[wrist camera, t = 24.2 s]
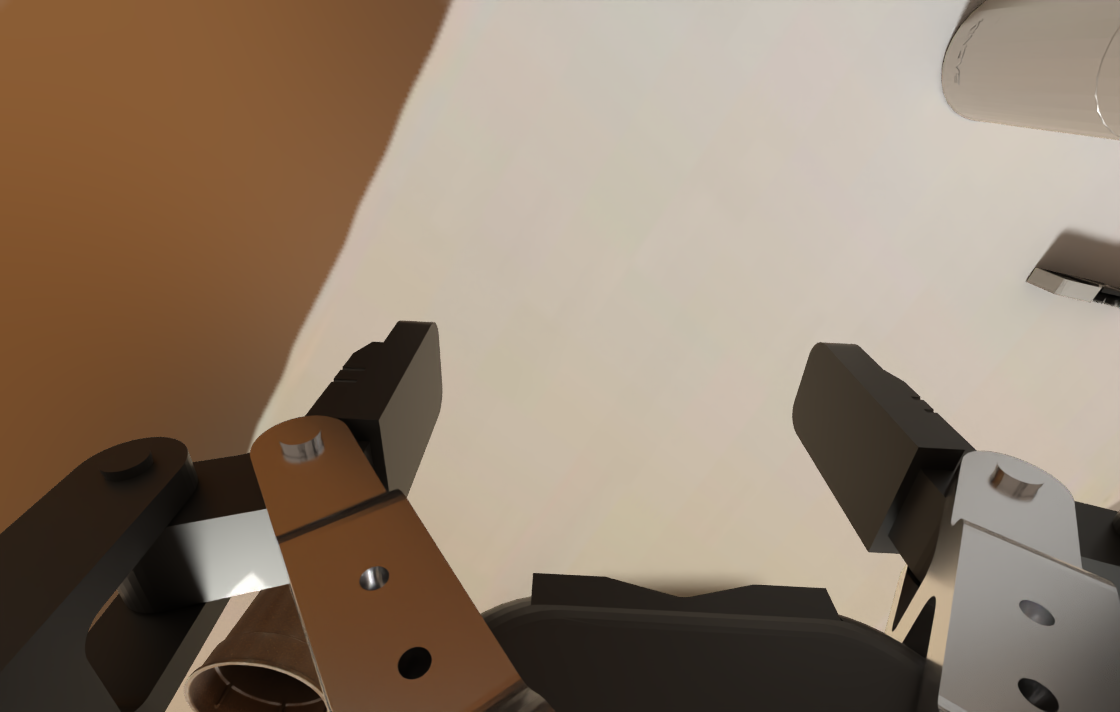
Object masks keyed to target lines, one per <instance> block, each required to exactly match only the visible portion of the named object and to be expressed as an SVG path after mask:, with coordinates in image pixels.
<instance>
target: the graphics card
mask: <svg viewBox="0 0 1120 712" xmlns="http://www.w3.org/2000/svg"><path fill="white" fill-rule="evenodd" d="M1027 282H1028V283H1030V284H1033V285H1035V286H1037V287H1040V288H1042V289H1044V290H1047V291H1049V292H1051V293H1053V294H1056V295H1059V296H1064V297H1068V298H1072V299H1077V300H1081V301H1085V302H1089V303H1091V301H1092V300H1093V301H1094V302H1095V301H1096V302H1097V303H1098V302H1100V303H1101V304H1102V303H1104V304H1107V305H1111V306H1114V307H1117V308H1120V288H1116V287H1112V286H1109V285H1108V284H1106V285H1105V284H1104V283H1100V282H1096V281H1092V280H1087V279H1083V278H1079V277H1075V276H1070V275H1066V274H1062V273H1057V272H1053V271H1049V270H1044V269H1040V268H1035V269H1034V271H1033V273H1032V274H1031V276H1030V277H1029V279H1028V280H1027Z"/></svg>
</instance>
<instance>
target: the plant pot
mask: <svg viewBox="0 0 1120 712" xmlns="http://www.w3.org/2000/svg"><path fill="white" fill-rule="evenodd" d="M184 696H185V700H186V702H187V704H188V705H189V707H190V708H191V710H192V711H193V712H329V711H328V708H327V705H326V702H325V698H324V695H323V692H322V689H321V685H320V682H319V679H318V676H317V673H316V669H315V666H314V663H313V660H312V657H311V654H310V650H309V647H308V644H307V641H306V638H305V635H304V631H303V628H302V625H301V622H300V619H299V616H298V612H297V609H296V606H295V603H294V600H293V597H292V593H291V590H290V587H289V584H285V585H281V586H276V587H272V588H267V589H263V590H261V591H260V592H259V594H258V595H257V596H256V598H255V599H254V600H253V602H252V603H251V605H250V606H249V607H248V609H247V610H246V611H245V613H244V614H243V616H242V617H241V618H240V620H239V621H238V622H237V624H236V625H235V626H234V628H233V629H232V630H231V632H230V633H229V634H228V636H227V637H226V639H225V640H224V641H222V642H221V643H219V644H218V645H217V647H216V648H215V649H214V650H213V652H212V653H211V654H210V656H209V657H208V659H207V660H206V661H205V662H204V664H203V665H202V666H201V667H199V668H198V669H196V670H195V671H194V672H193V673H192V674H191V675H190V677H189V678H188V679H187V681H186V683H185V685H184Z"/></svg>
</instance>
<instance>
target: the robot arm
mask: <svg viewBox="0 0 1120 712" xmlns="http://www.w3.org/2000/svg"><path fill="white" fill-rule="evenodd" d="M941 81H942V88H943V93H944V96H945V98H946V100H947V103H948V104H949V105H950V107H951V108H952V109H953V110H954V111H955V112H956V113H958V114H959V115H961V116H962V117H964V118H967V119H971V120H974V121H981V122H989V123H996V124H1003V125H1009V126H1017V127H1024V128H1032V129H1039V130H1046V131H1054V132H1061V133H1069V134H1076V135H1084V136H1091V137H1099V138H1106V139H1114V140H1120V0H986V1H985V2H984V3H983V4H981V5H980V6H979V7H978V8H977V9H976V10H974V11H973V12H972V13H971V14H970V16H969V17H968V18H967V19H966V20H965V21H964V22H963V24H962V25H961V26H960V28H959V29H958V31H957V32H956V34H955V36H954V37H953V39H952V41H951V43H950V45H949V48H948V50H947V52H946V55H945V59H944V63H943V67H942V80H941ZM441 402H442V376H441V362H440V347H439V334H438V328H437V325H436V323H435V322H417V321H398V322H397V324H396V325H395V327H394V328H393V330H392V331H391V332H390V334H389V335H388V337H387V338H386V340H385V341H384V342H371V343H370V344H368V345H366V346H365V347H363V348H361V349H360V350H358V351H356V352H355V353H353V354H352V356H351V357H350V358H349V360H348V361H347V362H346V363H345V365H344V366H343V370H340V371H339V373H338V374H337V375H336V376H335V378H334V382H331V383H330V384H329V386H328V387H327V388H326V389H325V391H324V392H323V393H322V395H321V396H320V397H319V399H318V400H317V401H316V402H315V404H314V405H313V406H312V408H311V409H310V410H309V412H308V413H307V414H306V415H305V416H304V417H298V418H294V419H290V420H287V421H284V422H282V423H279V424H277V425H275V426H273V427H271V428H270V429H268V430H267V431H265V432H264V433H262V434H261V435H260V436H259V437H258V438H257V439H256V440H255V442H254V443H253V445H252V447H251V450H250V453H247V454H243V455H238V456H231V457H225V458H218V459H211V460H205V461H199V462H192V460H191V457H190V455H189V453H188V449H187V447H186V446H185V444H183V443H182V442H180V441H178V440H176V439H172V438H166V437H151V438H143V439H137V440H132V441H129V442H126V443H122V444H119V445H116V446H113V447H111V448H108V449H106V450H104V451H102V452H100V453H98V454H96V455H94V456H92V457H91V458H89V459H87V460H86V461H84V462H83V463H82V464H80V465H79V466H78V467H77V468H75V469H74V470H73V471H72V472H71V473H70V474H69V475H67V476H66V477H65V478H64V479H63V480H62V481H61V482H59V483H58V484H57V485H56V486H55V487H54V488H52V489H51V490H50V491H49V492H48V493H47V494H46V495H45V496H43V497H42V498H41V499H40V500H39V501H38V502H36V503H35V504H34V505H33V506H32V507H31V508H30V509H28V510H27V511H26V512H25V513H24V514H23V515H22V516H21V517H19V518H18V519H17V520H16V521H15V522H14V523H12V524H11V525H10V526H9V527H8V528H7V529H6V530H5V531H3V532H2V533H1V534H0V712H165V711H166V709H167V707H168V705H169V704H170V702H171V700H172V698H173V697H174V695H175V693H176V692H177V690H178V688H179V686H180V685H181V683H182V681H183V679H184V678H185V676H186V674H187V672H188V671H189V669H190V667H191V665H192V664H193V662H194V660H195V659H196V657H197V655H198V653H199V652H200V650H201V648H202V646H203V645H204V643H205V641H206V639H207V638H208V636H209V634H210V632H211V631H212V629H213V627H214V625H215V624H216V622H217V620H218V619H219V617H220V615H221V613H222V612H223V610H224V608H225V606H226V605H227V603H228V601H229V599H230V598H231V596H236V595H240V594H245V593H249V592H254V591H258V590H263V589H267V588H272V587H276V586H281V585H285V584H289V587H290V590H291V593H292V597H293V600H294V603H295V606H296V609H297V612H298V616H299V619H300V622H301V625H302V628H303V631H304V635H305V638H306V641H307V644H308V647H309V650H310V654H311V657H312V660H313V663H314V666H315V669H316V673H317V676H318V679H319V682H320V685H321V689H322V692H323V695H324V698H325V702H326V705H327V708H328V711H329V712H1120V510H1119V512H1117V511H1113V510H1109V509H1105V508H1101V507H1097V506H1093V505H1089V504H1084V503H1080V502H1076V501H1074V499H1073V496H1072V494H1071V493H1070V491H1069V490H1068V489H1067V488H1066V487H1065V486H1064V485H1063V484H1062V483H1061V482H1060V481H1059V480H1057V479H1056V478H1055V477H1053V476H1052V475H1050V474H1049V473H1047V472H1045V471H1044V470H1042V469H1040V468H1038V467H1036V466H1035V465H1032V464H1030V463H1028V462H1026V461H1023V460H1021V459H1018V458H1015V457H1012V456H1009V455H1006V454H1002V453H997V452H991V451H977V450H975V449H974V448H973V447H972V446H971V445H970V444H969V443H968V442H967V441H966V440H965V439H964V438H963V437H962V436H961V435H960V434H959V433H958V432H957V431H956V430H954V429H953V428H952V427H951V426H950V425H949V424H948V423H947V422H946V421H945V420H944V419H943V418H942V417H941V416H940V415H939V414H938V413H934V412H933V409H932V408H931V407H930V406H929V405H928V404H927V403H926V402H925V401H924V400H920V396H919V395H918V394H917V393H916V392H915V391H914V390H913V389H911V388H910V387H909V386H908V385H907V384H906V383H905V382H904V381H902V380H900V379H899V378H897V377H895V376H893V375H892V374H890V373H888V372H886V371H885V370H883V369H882V368H881V367H880V366H879V365H878V364H877V363H876V362H875V361H874V360H873V359H872V358H871V357H870V356H869V355H868V354H867V353H866V352H865V351H864V350H863V349H862V348H861V347H859V346H858V345H856V344H840V343H821V342H820V343H817V344H816V345H815V346H814V347H813V348H812V350H811V352H810V354H809V357H808V361H807V364H806V367H805V370H804V373H803V376H802V380H801V383H800V386H799V389H798V392H797V395H796V398H795V402H794V405H793V413H792V418H793V426H794V429H795V432H796V434H797V435H798V437H799V439H800V440H801V442H802V444H803V445H804V447H805V449H806V450H807V452H808V453H809V455H810V457H811V458H812V460H813V462H814V463H815V465H816V467H817V468H818V470H819V472H820V473H821V475H822V477H823V478H824V480H825V481H826V483H827V485H828V486H829V488H830V490H831V491H832V493H833V495H834V496H835V498H836V500H837V501H838V503H839V505H840V506H841V508H842V509H843V511H844V513H845V514H846V516H847V518H848V519H849V521H850V523H851V524H852V526H853V528H854V529H855V531H856V533H857V534H858V536H859V537H860V539H861V541H862V542H863V544H864V546H865V547H866V549H867V551H868V552H876V553H895V554H900V555H901V556H902V558H903V559H904V561H905V562H906V565H905V566H904V568H903V570H902V572H901V574H900V576H899V580H898V584H897V588H896V591H895V595H894V599H893V603H892V607H891V610H890V614H889V618H888V622H887V625H886V629H885V633H883V632H881V631H879V630H877V629H875V628H873V627H870V626H868V625H866V624H864V623H861V622H859V621H856V620H853V619H851V618H848V617H845V616H842V615H838V613H837V611H836V609H835V607H834V605H833V603H832V600H831V598H830V596H829V594H828V592H827V590H826V588H809V587H790V586H771V585H749V586H744V587H739V588H734V589H729V590H724V591H719V592H714V593H709V594H703V595H698V596H693V597H677V596H673V595H669V594H665V593H662V592H658V591H655V590H651V589H647V588H644V587H640V586H637V585H633V584H629V583H626V582H622V581H618V580H615V579H611V578H608V577H599V576H580V575H560V574H541V573H533V583H532V596H531V597H526V598H521V599H517V600H513V601H510V602H507V603H504V604H501V605H499V606H496V607H494V608H492V609H490V610H487V611H485V612H483V613H482V614H480V613H479V611H478V610H477V608H476V606H475V605H474V603H473V602H472V600H471V599H470V597H469V595H468V594H467V592H466V591H465V589H464V588H463V586H462V584H461V583H460V581H459V580H458V578H457V577H456V575H455V573H454V572H453V570H452V569H451V567H450V565H449V564H448V562H447V561H446V559H445V558H444V556H443V554H442V553H441V551H440V550H439V548H438V547H437V545H436V543H435V542H434V540H433V539H432V537H431V536H430V534H429V532H428V531H427V529H426V528H425V526H424V524H423V523H422V521H421V520H420V518H419V517H418V515H417V513H416V512H415V510H414V509H413V507H412V506H411V504H410V502H409V501H408V499H407V496H408V493H409V491H410V488H411V485H412V483H413V480H414V478H415V475H416V472H417V470H418V467H419V465H420V462H421V460H422V457H423V454H424V452H425V449H426V447H427V444H428V442H429V439H430V436H431V434H432V431H433V429H434V426H435V423H436V421H437V418H438V416H439V413H440V408H441ZM116 589H117V590H118V592H119V594H118V595H117V597H116V598H115V599H114V600H113V602H112V603H111V604H110V606H109V607H108V608H107V609H106V611H105V612H104V613H103V614H102V616H101V617H100V618H99V619H98V621H97V622H96V623H95V625H94V626H93V627H92V628H91V630H90V631H89V632H88V630H89V628H90V626H91V623H92V621H93V619H94V618H95V616H96V615H97V613H98V612H99V611H100V609H101V608H102V607H103V605H104V604H105V603H106V602H107V601H108V599H109V598H110V597H111V596H112V594H113V593H114V592H115V591H116Z"/></svg>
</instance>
